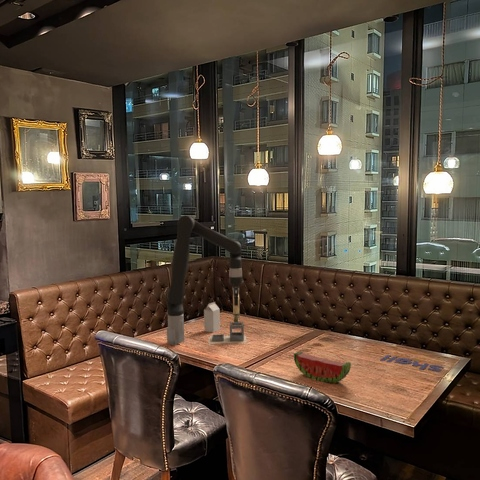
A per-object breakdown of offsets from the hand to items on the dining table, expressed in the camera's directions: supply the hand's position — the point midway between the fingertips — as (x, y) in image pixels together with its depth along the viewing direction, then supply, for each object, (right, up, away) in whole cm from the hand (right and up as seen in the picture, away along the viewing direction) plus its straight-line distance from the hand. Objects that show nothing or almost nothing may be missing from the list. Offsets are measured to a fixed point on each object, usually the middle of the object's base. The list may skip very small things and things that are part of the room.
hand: (236, 304), depth 254 cm
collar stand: (-5, -21, +2) cm, 21 cm away
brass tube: (0, -10, +1) cm, 10 cm away
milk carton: (-15, -21, +21) cm, 33 cm away
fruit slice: (+40, -26, -54) cm, 72 cm away
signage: (+88, -25, -37) cm, 99 cm away
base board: (-6, -22, +2) cm, 23 cm away
